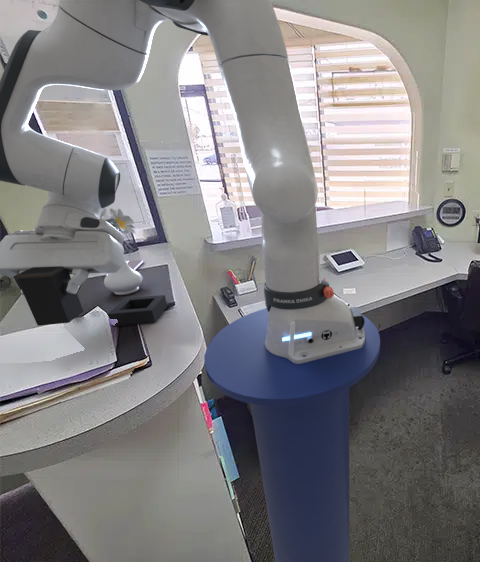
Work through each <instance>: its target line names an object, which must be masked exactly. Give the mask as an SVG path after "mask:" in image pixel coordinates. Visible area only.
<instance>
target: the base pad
mask: <svg viewBox="0 0 480 562" xmlns="http://www.w3.org/2000/svg"><path fill="white" fill-rule="evenodd" d="M166 298H167V297H166V295H165V294H160V295H147V296H133V297H131V296H130V297H124V298H123V299H122V300H121V301H120V302H119V303H117V305H115V306H114V307H113V308H112V309H111V310H110V311H109V312H108V313H107V314H106V316H107V315H108V316H109V318H110V319H117V320H118V323H116V324H115V326H114V327H124V326H135V325H144V324H145V325H146V324H155V323H157V321H158V320H159V318H161V316H162V314H163V313H164V312H165V311H166V309H167V308H168V302H167V299H166ZM108 316H107V317H108Z"/></svg>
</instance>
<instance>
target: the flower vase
mask: <svg viewBox="0 0 480 562" xmlns="http://www.w3.org/2000/svg"><path fill="white" fill-rule="evenodd" d="M109 213H110V214H107V207H105V209H104V211H103V212H102V213H101V216H100V219H102V220H105V221H107V222H108V223H109V224H111V225H112V226H113V227H115V228H116V229H117V230H118V231H119V232H120V233H121V234H122V233H123V234H125V235H126V234H129V233H131V234H134V235H135V234H136V231H135V230H134V229H135V226H134V223H135V220H133V219H132V217H131V216H130V215H126V214H124V213H123V211H122V209H121V208H118V209H114V208H109ZM125 258H126V257H125V255H124V256H123V262H122V266H121V268H120V269H119V270H118V271H117V272H115V273H108V275H107V276H105V277H104V279H103V285H104V288H106V289H107V290H109V291H111V292H113V294H114V295H117V296H125V295H131V294H133V293H136V292H138V291H139V290H140V286H141V285H142V283H143V282H144V277H143V275H142V274H141V273H140V272H139V271H137V270H134V269H132V268H131V267H130V266H129V265H128V264H127V262H126V261H127V260H126V259H125Z"/></svg>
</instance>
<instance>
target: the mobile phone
mask: <svg viewBox="0 0 480 562" xmlns="http://www.w3.org/2000/svg"><path fill="white" fill-rule="evenodd" d="M125 261H126V262H127V264H128V265H129V266H130V267H131V268H132V269H134V270H135V271H137V269H138V268H139V267H140V266H141V265H142V264H143V263H144V260H142V259H137V260H136V259H135V260H125ZM107 275H108V273H104V276H105V277H106V276H107Z"/></svg>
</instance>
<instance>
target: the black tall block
mask: <svg viewBox="0 0 480 562" xmlns="http://www.w3.org/2000/svg"><path fill="white" fill-rule="evenodd" d="M13 277H14V279H15V280H17V283H18V285H19V287H20V291H21V290H22V292H23V294H24V295H23V296H24V298H25V301H26V303H27V305H28V307H29V310H30V312H31V314H32V316H33V318H34V321H35V323H36V325H37V326H40V327H41V326H49V325H58V324H59V325H61V324H70V323H71V322H72V321H73V320H75V319H76V318H77V317H78V316H80V315H81V314H82V313H84V308H83V306H82V304H81V300H80V298H79V295H78V292H77V293H76V294H65V293H62V292H61V288H62V283H68V281H69V280H70V279H71V278H72V276H71V274H69V271H68V269H67V268H64V267H63V266H62V267H32V268H30V269H28V270H26V271H24V272H21V273H19V274H17V275H15V276H13Z"/></svg>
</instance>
